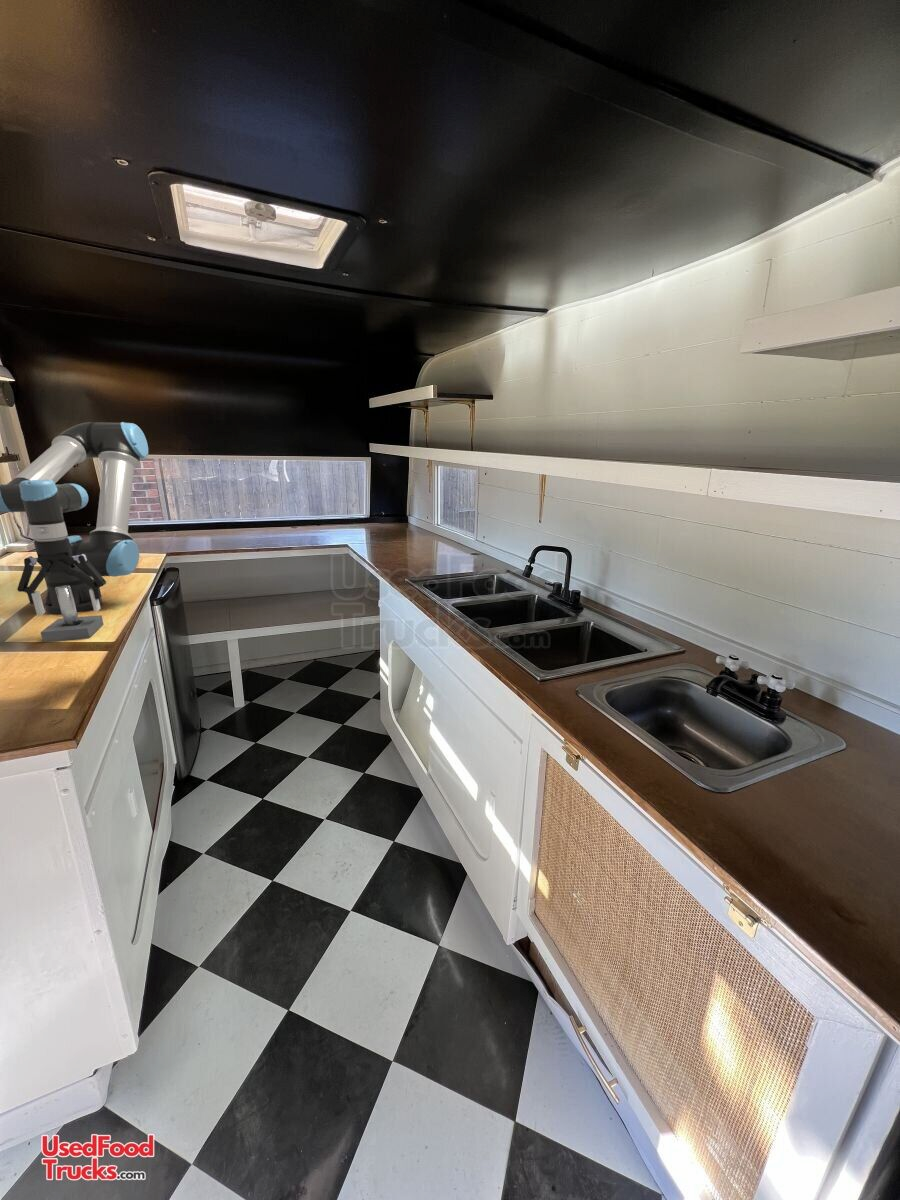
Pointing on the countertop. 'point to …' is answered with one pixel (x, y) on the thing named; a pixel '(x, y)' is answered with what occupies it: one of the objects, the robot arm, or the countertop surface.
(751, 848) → the countertop surface
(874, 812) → the countertop surface
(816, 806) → the countertop surface
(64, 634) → the socket block
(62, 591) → the steel peg
